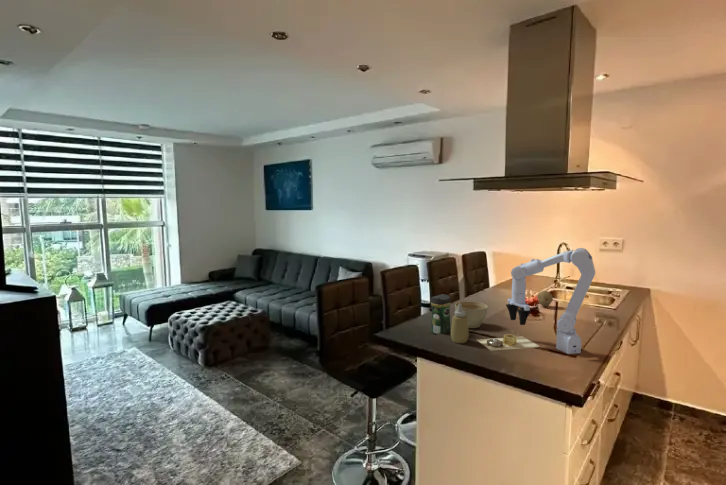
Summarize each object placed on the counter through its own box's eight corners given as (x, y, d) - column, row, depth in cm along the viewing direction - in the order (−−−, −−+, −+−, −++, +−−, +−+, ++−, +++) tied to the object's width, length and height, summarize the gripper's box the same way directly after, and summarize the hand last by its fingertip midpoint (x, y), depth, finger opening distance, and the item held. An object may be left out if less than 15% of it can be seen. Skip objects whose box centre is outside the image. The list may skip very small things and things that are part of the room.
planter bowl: (473, 332, 196) (473, 311, 195) (448, 324, 209) (448, 304, 208) (493, 326, 206) (494, 305, 205) (468, 319, 219) (468, 299, 218)
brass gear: (518, 345, 175) (519, 337, 175) (507, 346, 175) (507, 338, 174) (512, 341, 181) (512, 333, 181) (500, 342, 180) (501, 334, 180)
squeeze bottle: (455, 338, 188) (455, 300, 186) (471, 342, 183) (472, 303, 181) (447, 343, 182) (447, 304, 180) (463, 347, 177) (464, 307, 175)
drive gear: (506, 347, 174) (506, 341, 174) (491, 348, 173) (491, 342, 172) (498, 341, 181) (498, 336, 180) (483, 342, 179) (484, 337, 179)
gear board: (540, 349, 174) (540, 341, 173) (490, 352, 170) (491, 344, 170) (522, 338, 188) (522, 331, 187) (476, 341, 184) (476, 334, 183)
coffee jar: (439, 328, 204) (440, 292, 202) (453, 331, 198) (453, 294, 196) (427, 332, 197) (428, 295, 195) (441, 336, 191) (441, 298, 190)
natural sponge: (548, 309, 237) (548, 293, 236) (533, 307, 243) (533, 290, 242) (555, 307, 243) (555, 290, 242) (540, 304, 249) (541, 288, 248)
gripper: (501, 289, 186) (501, 318, 188) (519, 296, 172) (518, 327, 174) (515, 288, 188) (515, 317, 189) (534, 295, 174) (533, 326, 175)
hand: (517, 322), depth 181 cm, fingers open, 7 cm apart
